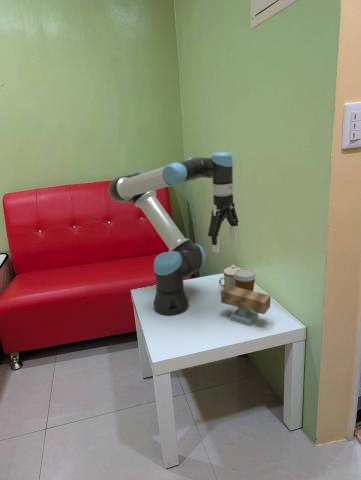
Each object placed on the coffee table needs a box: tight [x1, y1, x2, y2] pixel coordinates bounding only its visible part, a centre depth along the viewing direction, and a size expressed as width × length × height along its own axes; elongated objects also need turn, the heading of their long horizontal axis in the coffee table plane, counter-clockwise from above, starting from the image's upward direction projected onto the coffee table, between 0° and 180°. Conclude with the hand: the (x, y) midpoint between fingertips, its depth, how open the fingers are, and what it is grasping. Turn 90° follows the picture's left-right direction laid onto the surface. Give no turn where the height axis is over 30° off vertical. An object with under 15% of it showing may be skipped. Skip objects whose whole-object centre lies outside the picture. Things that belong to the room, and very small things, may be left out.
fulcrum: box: [230, 307, 259, 327], centre depth 138 cm, size 8×8×6 cm
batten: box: [220, 285, 272, 315], centre depth 136 cm, size 18×6×5 cm, turn 54°
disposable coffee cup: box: [234, 268, 257, 291], centre depth 152 cm, size 10×10×12 cm
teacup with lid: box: [218, 264, 242, 289], centre depth 160 cm, size 12×9×12 cm
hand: (224, 246), depth 140 cm, fingers open, 13 cm apart
